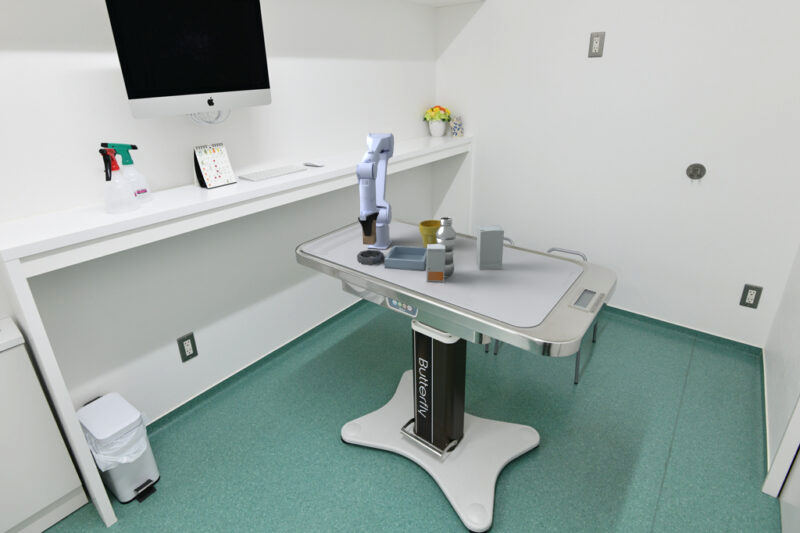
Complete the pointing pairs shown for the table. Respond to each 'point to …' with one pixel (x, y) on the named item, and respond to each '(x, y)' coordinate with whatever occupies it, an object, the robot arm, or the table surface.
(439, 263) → the skincare box
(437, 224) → the plant pot
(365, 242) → the peg
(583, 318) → the table surface
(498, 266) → the skincare box
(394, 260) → the bin
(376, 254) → the collar
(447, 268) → the silver metal bottle
